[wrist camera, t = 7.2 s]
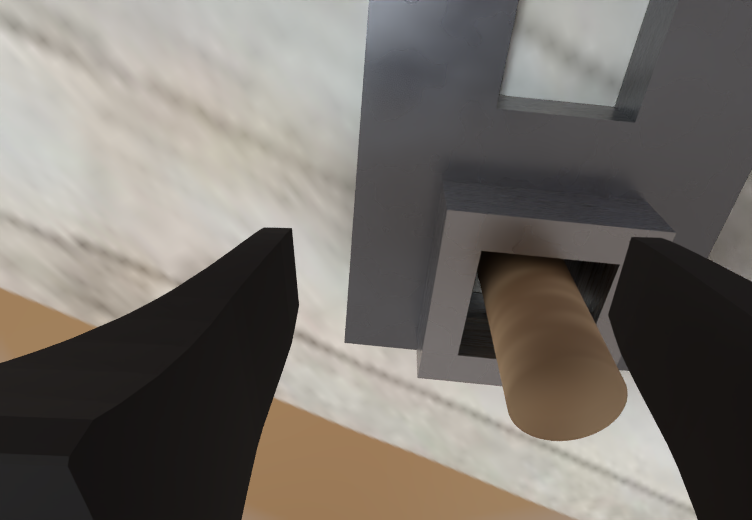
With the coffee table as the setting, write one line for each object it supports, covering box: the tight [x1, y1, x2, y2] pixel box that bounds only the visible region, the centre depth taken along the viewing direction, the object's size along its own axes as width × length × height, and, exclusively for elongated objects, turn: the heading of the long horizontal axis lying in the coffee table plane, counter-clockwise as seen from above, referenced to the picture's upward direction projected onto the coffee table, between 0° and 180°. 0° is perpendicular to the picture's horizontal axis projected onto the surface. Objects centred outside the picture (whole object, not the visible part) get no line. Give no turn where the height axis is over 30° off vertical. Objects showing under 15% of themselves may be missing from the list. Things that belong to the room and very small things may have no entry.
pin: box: [477, 251, 627, 441], centre depth 19 cm, size 3×3×9 cm
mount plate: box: [345, 0, 752, 386], centre depth 18 cm, size 14×18×4 cm
